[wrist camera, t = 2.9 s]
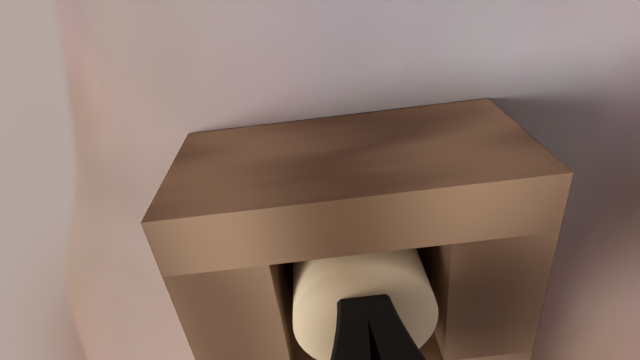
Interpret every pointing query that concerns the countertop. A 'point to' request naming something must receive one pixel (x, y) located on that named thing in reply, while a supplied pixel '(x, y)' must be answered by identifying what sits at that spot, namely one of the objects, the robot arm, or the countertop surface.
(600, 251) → the countertop surface
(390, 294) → the peg
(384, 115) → the collar bar
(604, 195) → the countertop surface
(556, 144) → the countertop surface
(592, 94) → the countertop surface
